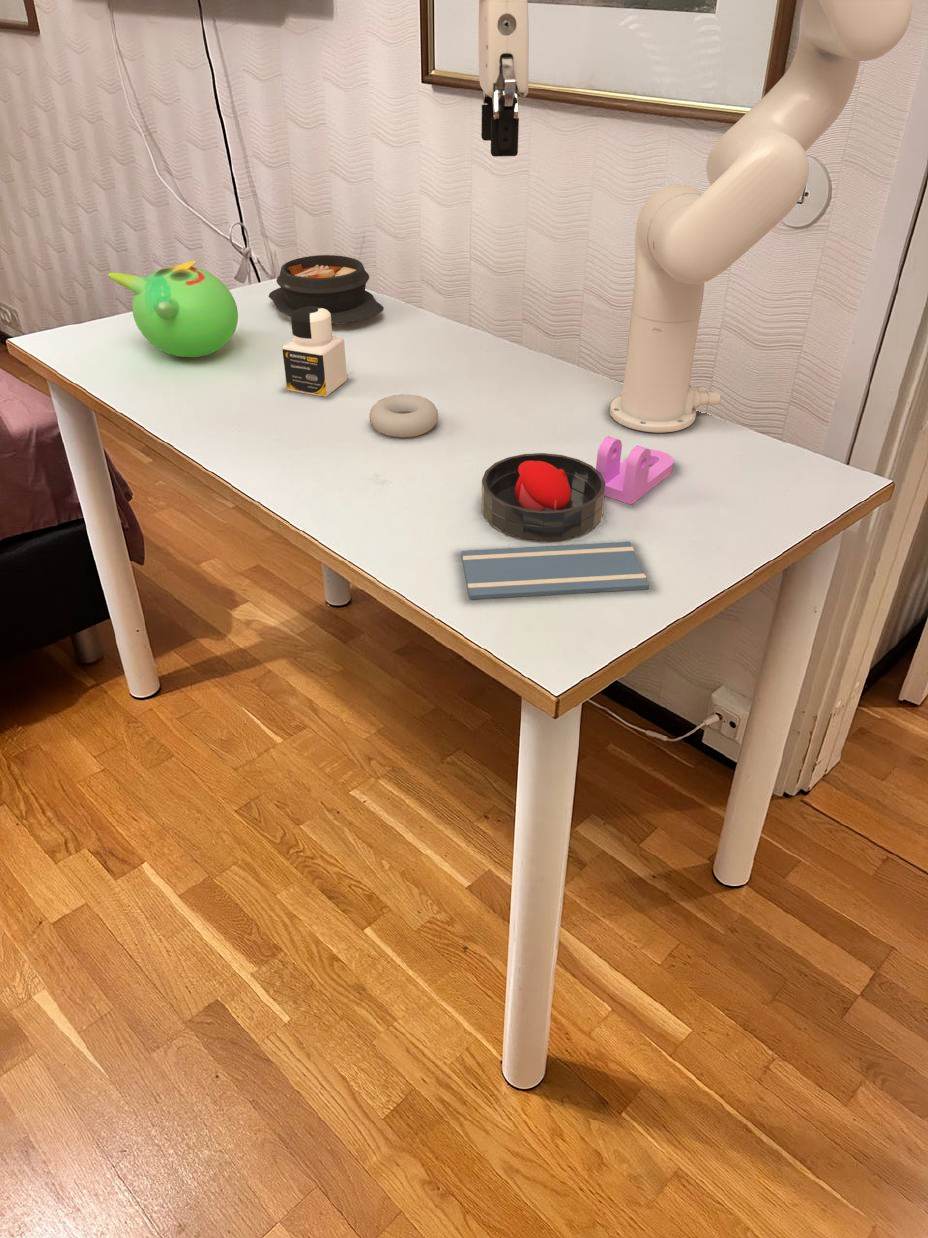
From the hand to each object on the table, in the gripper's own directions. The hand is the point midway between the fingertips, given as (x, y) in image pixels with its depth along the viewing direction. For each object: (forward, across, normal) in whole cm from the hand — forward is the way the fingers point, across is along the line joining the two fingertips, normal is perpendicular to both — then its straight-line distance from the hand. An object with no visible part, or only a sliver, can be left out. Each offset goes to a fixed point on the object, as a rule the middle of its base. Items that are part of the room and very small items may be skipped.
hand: (498, 147), depth 116 cm
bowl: (+37, -26, -3) cm, 45 cm away
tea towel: (+37, -40, -2) cm, 54 cm away
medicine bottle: (+37, +16, +26) cm, 48 cm away
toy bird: (+37, +32, +48) cm, 69 cm away
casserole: (+37, +50, +25) cm, 67 cm away
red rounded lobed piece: (+36, -26, -3) cm, 45 cm away
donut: (+37, 0, +13) cm, 39 cm away
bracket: (+37, -19, -17) cm, 45 cm away
